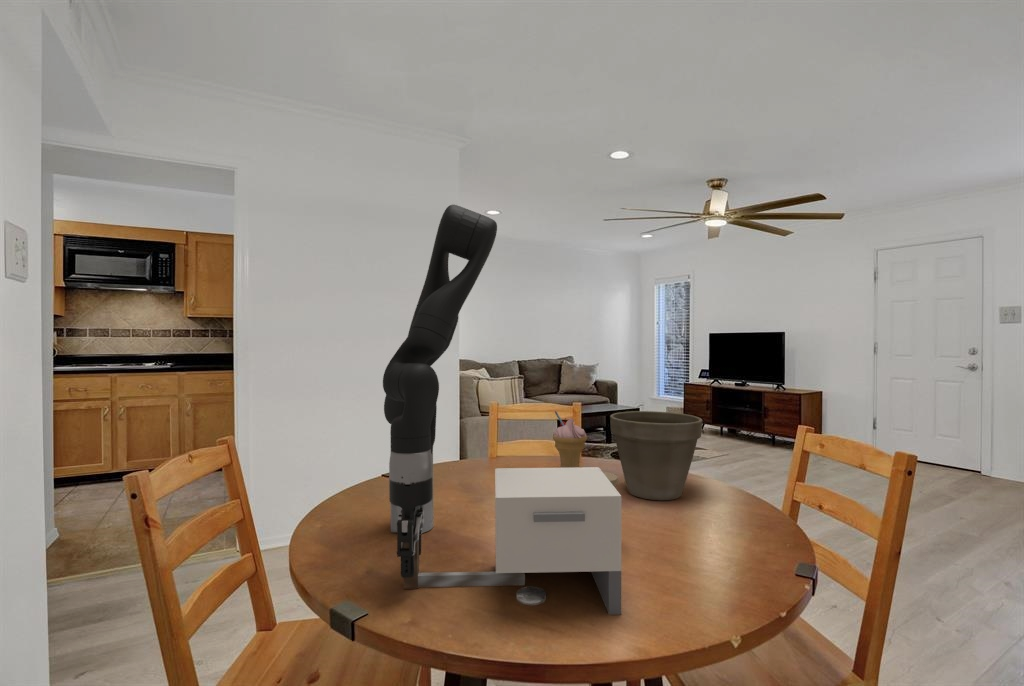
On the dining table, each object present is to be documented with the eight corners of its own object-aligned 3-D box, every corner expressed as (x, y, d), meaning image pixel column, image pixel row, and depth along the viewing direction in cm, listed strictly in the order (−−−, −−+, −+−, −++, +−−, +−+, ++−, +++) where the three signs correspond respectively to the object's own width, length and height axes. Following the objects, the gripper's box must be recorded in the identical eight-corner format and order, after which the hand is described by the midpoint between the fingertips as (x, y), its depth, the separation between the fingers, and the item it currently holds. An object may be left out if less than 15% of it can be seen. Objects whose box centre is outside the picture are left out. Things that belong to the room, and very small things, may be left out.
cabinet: (495, 620, 82) (495, 499, 82) (495, 566, 101) (495, 468, 100) (622, 617, 83) (622, 498, 82) (598, 564, 102) (598, 467, 101)
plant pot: (658, 476, 164) (658, 407, 164) (722, 498, 142) (722, 418, 142) (592, 487, 153) (592, 413, 152) (651, 513, 131) (651, 426, 130)
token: (517, 607, 86) (517, 601, 86) (515, 592, 91) (515, 586, 91) (547, 606, 87) (547, 600, 87) (544, 591, 92) (544, 586, 92)
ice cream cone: (558, 479, 161) (558, 414, 161) (548, 470, 172) (548, 409, 172) (592, 477, 163) (592, 413, 163) (580, 468, 174) (580, 408, 174)
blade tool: (403, 589, 92) (403, 532, 92) (405, 582, 94) (405, 527, 94) (525, 586, 93) (524, 530, 93) (524, 580, 95) (524, 525, 95)
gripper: (397, 465, 100) (397, 549, 100) (381, 486, 86) (381, 585, 86) (436, 464, 100) (437, 548, 101) (427, 486, 86) (427, 584, 86)
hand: (411, 565), depth 93 cm, fingers open, 8 cm apart
